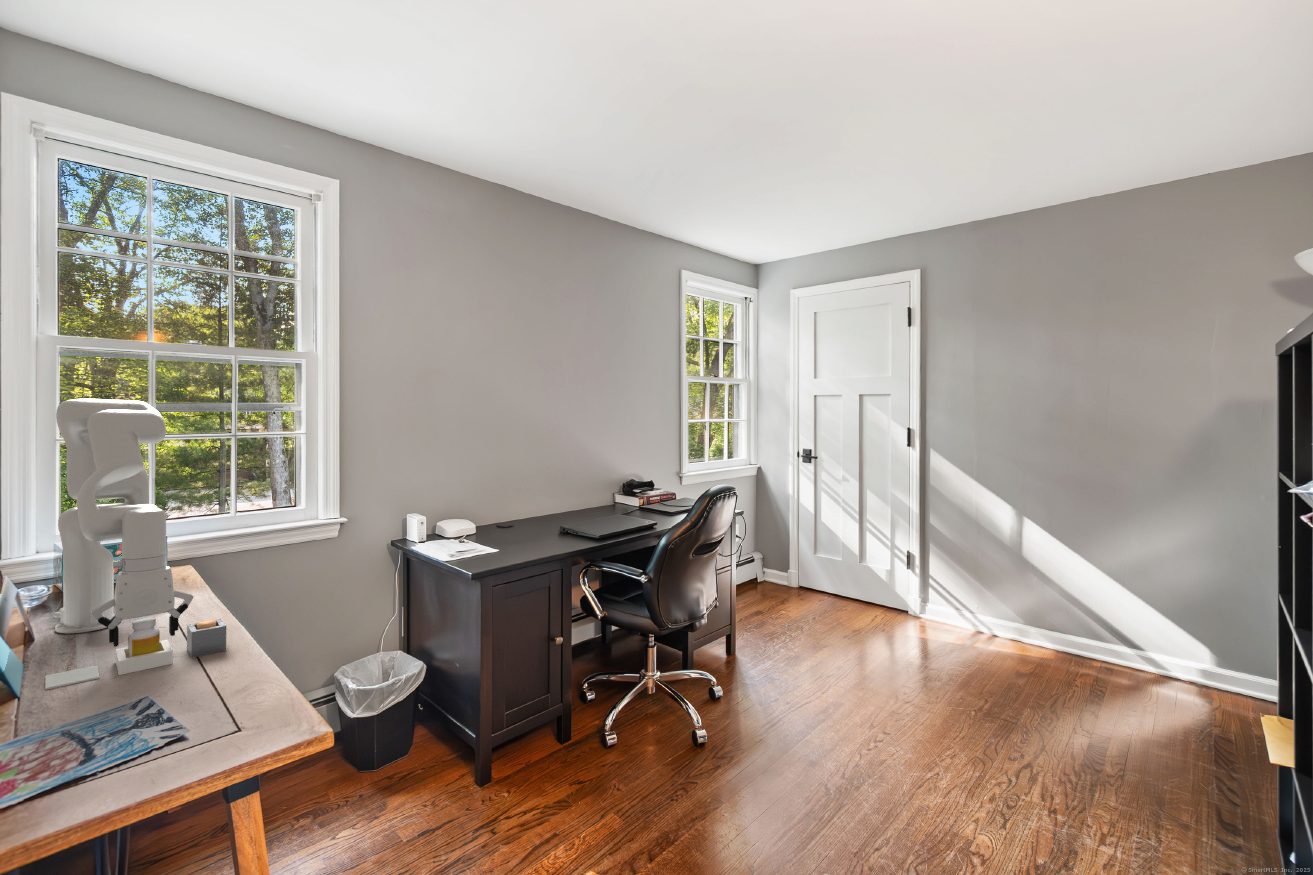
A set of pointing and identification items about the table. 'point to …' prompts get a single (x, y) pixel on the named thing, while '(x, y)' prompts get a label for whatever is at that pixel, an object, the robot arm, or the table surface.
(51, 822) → the table surface
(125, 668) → the collar
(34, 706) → the table surface
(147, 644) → the supplement bottle
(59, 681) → the mat
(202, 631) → the egg pedestal
